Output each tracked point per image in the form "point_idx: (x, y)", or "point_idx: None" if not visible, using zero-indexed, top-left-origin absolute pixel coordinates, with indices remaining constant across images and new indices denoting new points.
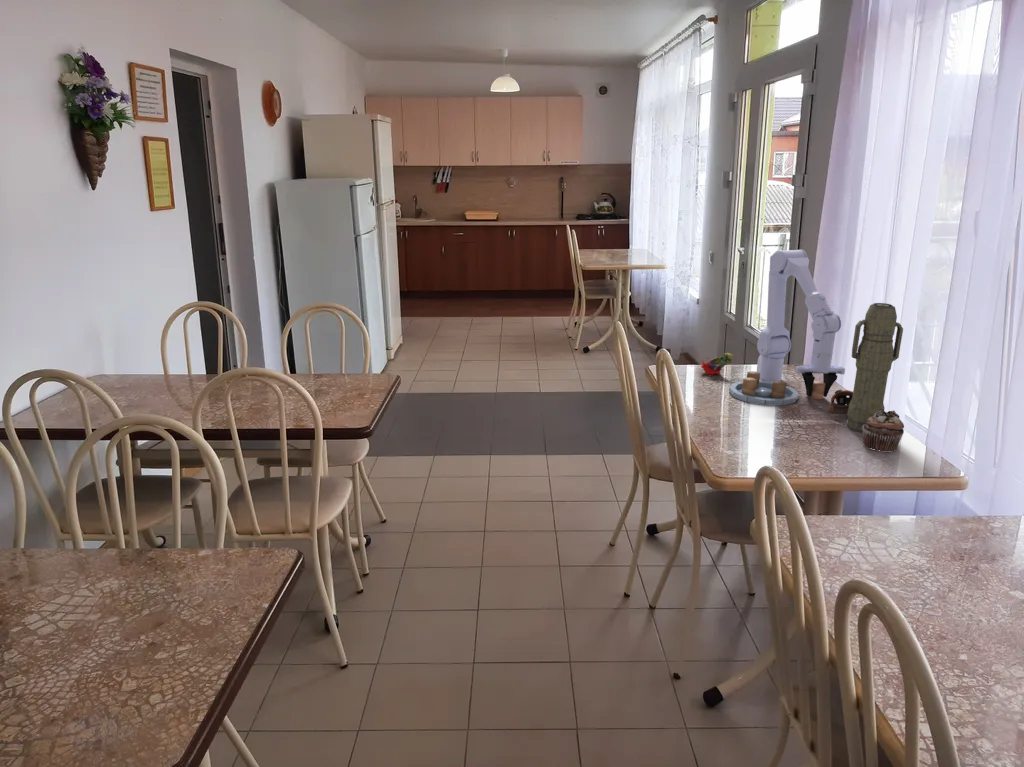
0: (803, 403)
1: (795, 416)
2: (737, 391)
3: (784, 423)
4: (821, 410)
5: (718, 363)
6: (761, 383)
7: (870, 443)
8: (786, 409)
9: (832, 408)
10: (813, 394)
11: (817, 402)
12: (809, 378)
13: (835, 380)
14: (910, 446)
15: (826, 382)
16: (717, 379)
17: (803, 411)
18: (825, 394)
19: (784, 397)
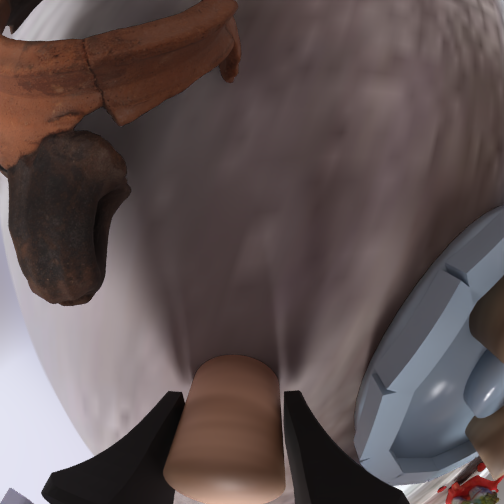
0: (351, 318)
1: (462, 61)
2: None
3: (490, 9)
4: (273, 158)
5: (482, 499)
6: (439, 466)
7: None
8: (485, 182)
9: (232, 17)
10: (269, 400)
11: (239, 349)
12: (384, 499)
13: (68, 468)
14: None
15: (153, 482)
16: (468, 468)
17: (414, 135)
18: (173, 401)
19: (496, 294)
